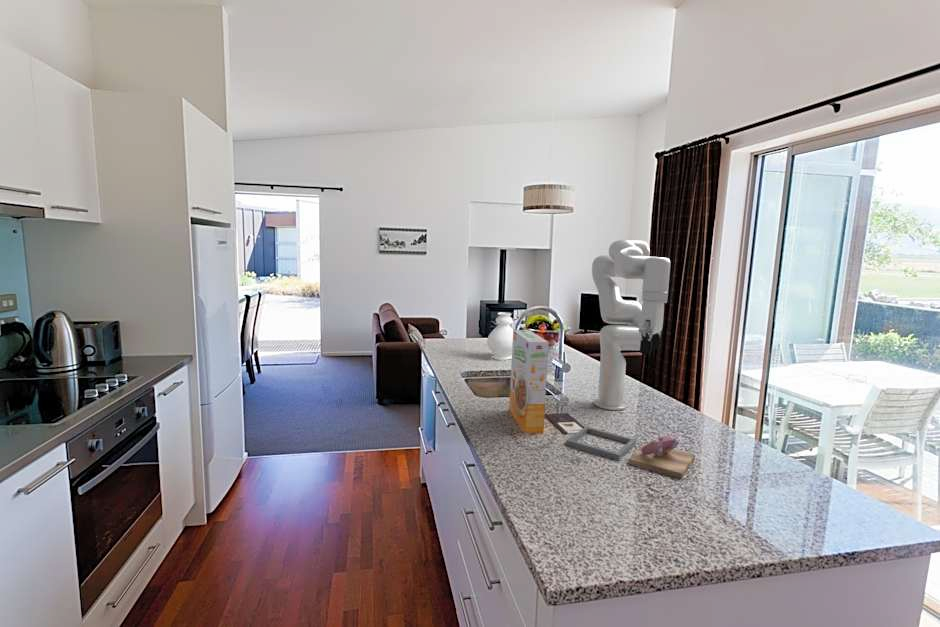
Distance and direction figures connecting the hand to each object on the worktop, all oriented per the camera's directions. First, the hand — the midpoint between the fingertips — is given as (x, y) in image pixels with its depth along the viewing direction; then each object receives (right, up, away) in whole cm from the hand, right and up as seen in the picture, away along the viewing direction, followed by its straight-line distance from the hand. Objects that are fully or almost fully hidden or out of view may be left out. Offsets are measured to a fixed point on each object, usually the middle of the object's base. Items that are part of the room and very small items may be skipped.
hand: (649, 351), depth 149 cm
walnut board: (-2, -30, -14) cm, 34 cm away
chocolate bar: (-24, -27, +13) cm, 38 cm away
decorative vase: (-39, -13, +113) cm, 120 cm away
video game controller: (-2, -29, -13) cm, 32 cm away
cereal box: (-38, -26, +14) cm, 48 cm away
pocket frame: (-16, -28, -4) cm, 33 cm away
